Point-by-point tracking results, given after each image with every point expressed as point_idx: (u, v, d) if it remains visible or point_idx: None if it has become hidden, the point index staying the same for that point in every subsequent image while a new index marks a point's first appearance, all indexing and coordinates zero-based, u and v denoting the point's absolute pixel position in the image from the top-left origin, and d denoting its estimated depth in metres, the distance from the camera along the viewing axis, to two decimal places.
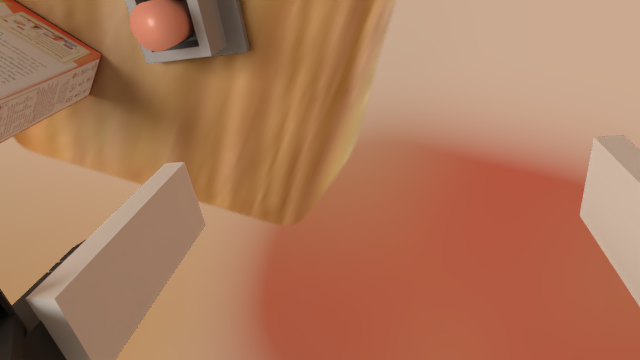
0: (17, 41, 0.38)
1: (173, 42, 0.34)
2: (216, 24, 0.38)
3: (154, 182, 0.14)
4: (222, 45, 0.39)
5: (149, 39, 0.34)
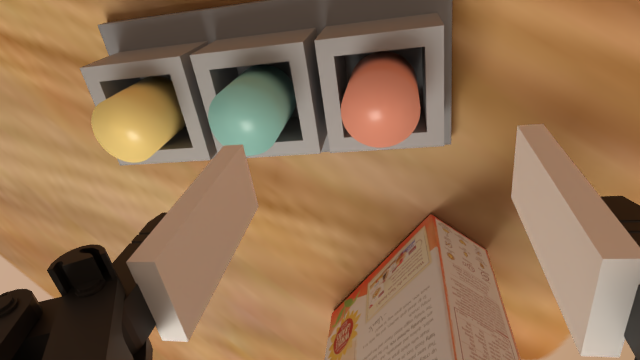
0: (392, 305, 0.28)
1: (407, 81, 0.19)
2: (397, 21, 0.23)
3: (218, 162, 0.14)
4: (433, 16, 0.23)
5: (398, 122, 0.20)
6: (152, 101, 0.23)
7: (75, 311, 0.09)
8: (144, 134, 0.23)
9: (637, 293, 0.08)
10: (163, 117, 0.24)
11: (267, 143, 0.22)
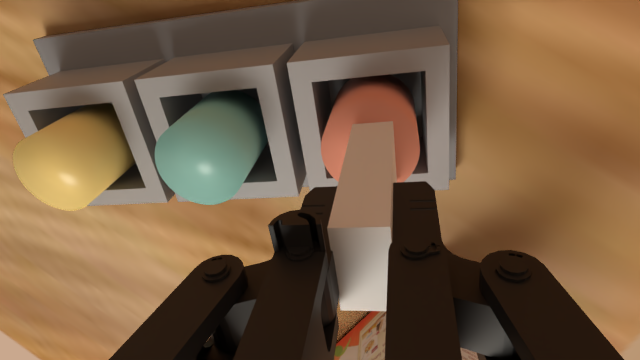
0: None
1: (403, 114, 0.15)
2: (391, 37, 0.19)
3: (358, 138, 0.14)
4: (435, 31, 0.18)
5: None
6: (89, 136, 0.19)
7: (284, 273, 0.09)
8: (78, 178, 0.19)
9: None
10: (104, 155, 0.19)
11: (230, 190, 0.18)
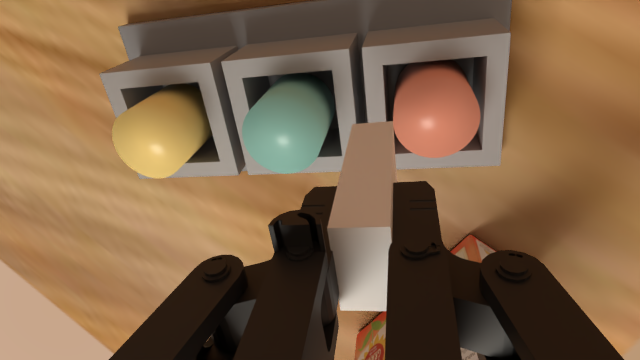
0: None
1: (467, 88, 0.18)
2: (451, 27, 0.21)
3: (358, 138, 0.14)
4: (491, 22, 0.20)
5: (455, 131, 0.19)
6: (179, 111, 0.21)
7: (284, 273, 0.09)
8: (170, 148, 0.21)
9: None
10: (190, 129, 0.21)
11: (307, 160, 0.20)
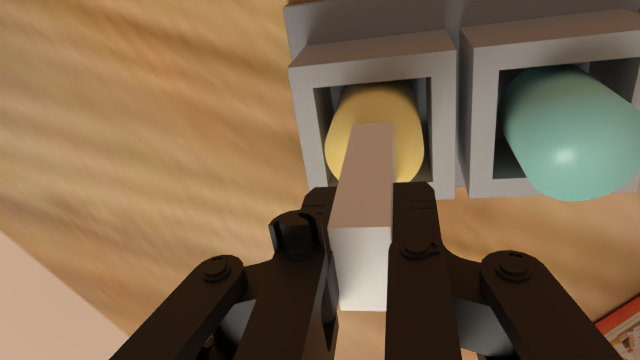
0: None
1: None
2: None
3: (358, 138, 0.14)
4: None
5: None
6: (410, 108, 0.16)
7: (284, 273, 0.09)
8: (404, 155, 0.16)
9: None
10: (421, 130, 0.17)
11: (614, 183, 0.14)
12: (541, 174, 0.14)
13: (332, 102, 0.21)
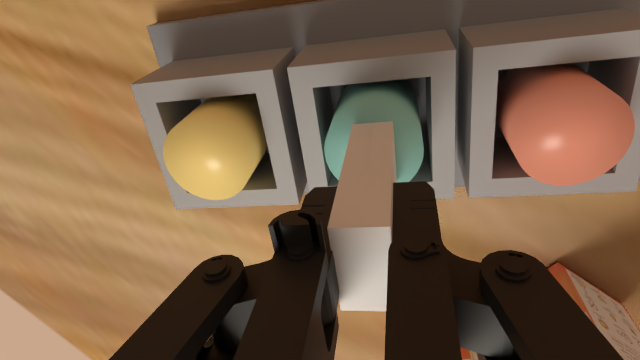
0: None
1: (621, 98, 0.14)
2: (575, 20, 0.17)
3: (358, 138, 0.14)
4: (627, 13, 0.16)
5: (597, 152, 0.15)
6: (242, 121, 0.18)
7: (284, 273, 0.09)
8: (233, 165, 0.17)
9: None
10: (255, 142, 0.18)
11: (402, 178, 0.17)
12: None
13: None
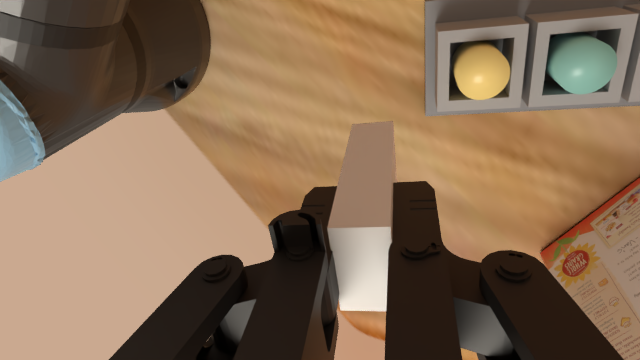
0: None
1: None
2: None
3: (358, 138, 0.14)
4: None
5: None
6: None
7: (284, 273, 0.09)
8: (499, 77, 0.31)
9: None
10: None
11: (600, 84, 0.30)
12: (565, 80, 0.31)
13: None
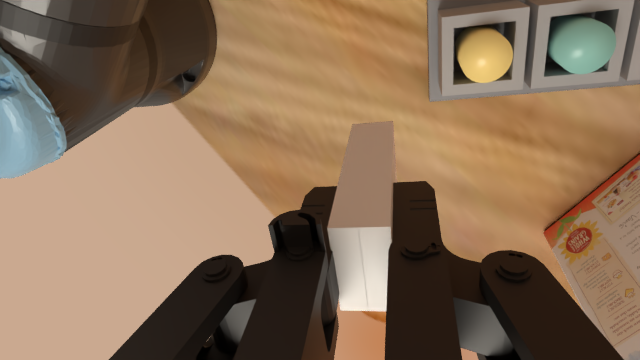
0: None
1: None
2: None
3: (358, 138, 0.14)
4: None
5: None
6: None
7: (284, 273, 0.09)
8: (502, 60, 0.32)
9: None
10: None
11: (600, 63, 0.31)
12: (566, 60, 0.32)
13: None
